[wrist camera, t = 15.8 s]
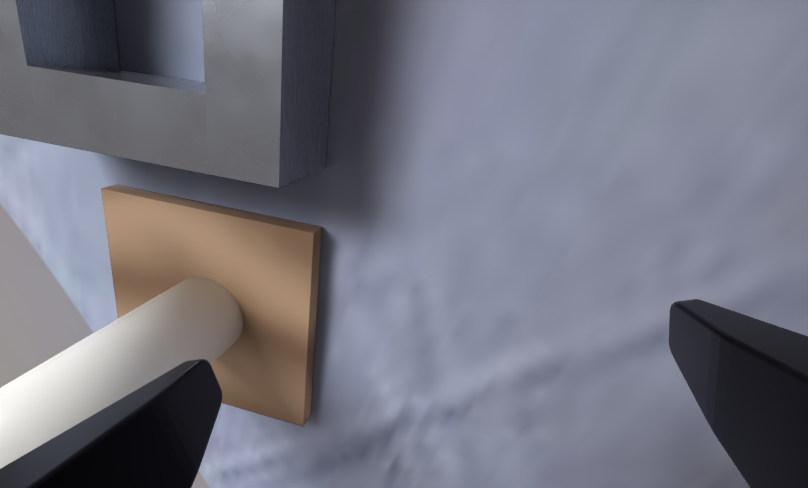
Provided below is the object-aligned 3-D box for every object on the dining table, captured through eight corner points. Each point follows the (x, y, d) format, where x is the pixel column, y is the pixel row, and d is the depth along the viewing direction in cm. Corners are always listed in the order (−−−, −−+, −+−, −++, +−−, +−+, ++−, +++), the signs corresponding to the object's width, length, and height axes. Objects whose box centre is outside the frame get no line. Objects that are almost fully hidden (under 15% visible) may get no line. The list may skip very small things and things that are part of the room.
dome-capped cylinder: (255, 341, 24) (-1, 593, 12) (193, 353, 25) (-91, 589, 13) (222, 269, 23) (-96, 468, 11) (159, 285, 24) (-184, 478, 12)
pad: (310, 414, 26) (303, 426, 25) (138, 365, 28) (125, 374, 27) (321, 227, 22) (313, 233, 21) (116, 184, 24) (101, 188, 23)
